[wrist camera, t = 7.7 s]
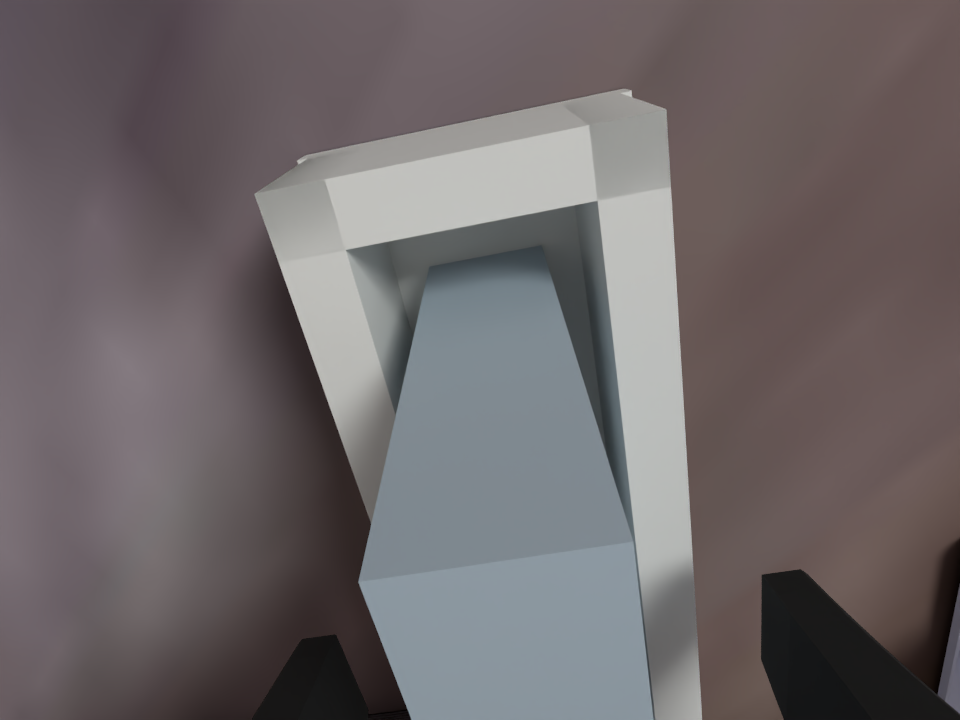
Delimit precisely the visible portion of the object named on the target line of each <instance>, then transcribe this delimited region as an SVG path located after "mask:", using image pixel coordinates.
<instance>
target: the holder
mask: <svg viewBox="0 0 960 720" xmlns="http://www.w3.org/2000/svg"><path fill="white" fill-rule="evenodd" d="M297 161H298V165H297V166H296V167H294V168H293V169H291V170H290V171H288V172H287V173H285V174H284V175H282V176H281V177H279V178H278V179H276V180H275V181H273V182H272V183H270V184H269V185H267V186H266V187H264V188H263V189H261V190H260V191H258V192H257V193H255V197H256V200H257V203H258V206H259V208H260V211H261V214H262V217H263V220H264V223H265V225H266V228H267V231H268V234H269V237H270V240H271V242H272V245H273V248H274V251H275V254H276V257H277V259H278V262H279V265H280V268H281V271H282V273H283V276H284V279H285V282H286V285H287V288H288V290H289V293H290V296H291V299H292V302H293V305H294V307H295V310H296V313H297V316H298V319H299V321H300V324H301V327H302V330H303V333H304V336H305V338H306V341H307V344H308V347H309V350H310V353H311V355H312V358H313V361H314V364H315V367H316V369H317V372H318V375H319V378H320V381H321V384H322V386H323V389H324V392H325V395H326V398H327V401H328V403H329V406H330V409H331V412H332V415H333V417H334V420H335V423H336V426H337V429H338V432H339V434H340V437H341V440H342V443H343V446H344V449H345V451H346V454H347V457H348V460H349V463H350V466H351V468H352V471H353V474H354V477H355V480H356V482H357V485H358V488H359V491H360V494H361V497H362V499H363V502H364V505H365V508H366V511H367V514H368V516H369V519H370V522H371V524H372V519H373V515H374V510H375V506H376V501H377V497H378V493H379V488H380V484H381V479H382V475H383V470H384V466H385V461H386V457H387V453H388V448H389V444H390V439H391V435H392V430H393V426H394V421H395V417H396V413H397V408H398V404H399V399H400V395H401V390H402V386H403V381H404V377H405V373H406V368H407V364H408V359H409V355H410V350H411V346H412V341H413V337H414V333H415V328H416V324H417V319H418V315H419V310H420V306H421V301H422V297H423V293H424V288H425V284H426V279H427V275H428V270H429V267H430V266H435V265H440V264H445V263H451V262H456V261H461V260H466V259H472V258H477V257H482V256H487V255H493V254H498V253H503V252H508V251H514V250H519V249H524V248H529V247H535V246H540V245H542V248H543V252H544V255H545V258H546V261H547V265H548V268H549V271H550V274H551V278H552V281H553V284H554V287H555V290H556V294H557V297H558V300H559V303H560V307H561V310H562V313H563V316H564V319H565V323H566V326H567V329H568V332H569V336H570V339H571V342H572V345H573V348H574V352H575V355H576V358H577V361H578V365H579V368H580V371H581V374H582V378H583V381H584V384H585V387H586V390H587V394H588V397H589V400H590V403H591V407H592V410H593V413H594V416H595V419H596V423H597V426H598V429H599V432H600V436H601V439H602V442H603V445H604V448H605V452H606V455H607V458H608V461H609V465H610V468H611V471H612V474H613V477H614V481H615V484H616V487H617V490H618V494H619V497H620V500H621V503H622V507H623V510H624V513H625V516H626V519H627V523H628V526H629V529H630V532H631V536H632V539H633V543H634V551H635V560H636V569H637V578H638V587H639V596H640V604H641V613H642V622H643V631H644V640H645V649H646V657H647V666H648V675H649V684H650V693H651V701H652V710H653V719H654V720H702V710H701V693H700V676H699V659H698V642H697V625H696V608H695V591H694V574H693V557H692V540H691V523H690V506H689V489H688V472H687V454H686V437H685V420H684V403H683V386H682V369H681V352H680V335H679V318H678V301H677V284H676V267H675V250H674V233H673V216H672V199H671V182H670V165H669V148H668V131H667V114H666V109H664V108H661V107H658V106H655V105H652V104H650V103H647V102H644V101H641V100H638V99H635V98H632V92H631V90H627V89H620V90H615V91H610V92H605V93H601V94H596V95H591V96H586V97H582V98H577V99H572V100H567V101H562V102H558V103H553V104H548V105H543V106H539V107H534V108H529V109H524V110H520V111H515V112H510V113H505V114H501V115H496V116H491V117H486V118H481V119H477V120H472V121H467V122H462V123H458V124H453V125H448V126H443V127H439V128H434V129H429V130H424V131H419V132H415V133H410V134H405V135H400V136H396V137H391V138H386V139H381V140H377V141H372V142H367V143H362V144H357V145H353V146H348V147H343V148H338V149H334V150H329V151H324V152H319V153H315V154H310V155H305V156H304V157H302V158H301V159H299V160H297Z"/></svg>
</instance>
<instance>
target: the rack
mask: <svg viewBox="0 0 960 720" xmlns="http://www.w3.org/2000/svg"><path fill="white" fill-rule="evenodd" d="M368 720H411V717H410V715H409V712H408V711H400V712H392V713H384V714H377V715H369V716H368Z"/></svg>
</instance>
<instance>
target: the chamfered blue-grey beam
mask: <svg viewBox="0 0 960 720" xmlns="http://www.w3.org/2000/svg"><path fill="white" fill-rule="evenodd" d="M358 583H359V585H360V588H361V590H362V593H363V596H364V598H365V601H366V603H367V606H368V609H369V611H370V614H371V616H372V619H373V621H374V624H375V627H376V629H377V632H378V634H379V637H380V640H381V642H382V645H383V647H384V650H385V653H386V655H387V658H388V660H389V663H390V665H391V668H392V671H393V673H394V676H395V678H396V681H397V684H398V686H399V689H400V691H401V694H402V696H403V699H404V702H405V704H406V707H407V709H408V712H409V715H410V717H411V720H654V719H653V710H652V701H651V693H650V684H649V675H648V666H647V657H646V649H645V640H644V631H643V622H642V613H641V604H640V596H639V587H638V578H637V569H636V560H635V551H634V543H633V539H632V536H631V532H630V529H629V526H628V523H627V519H626V516H625V513H624V510H623V507H622V503H621V500H620V497H619V494H618V490H617V487H616V484H615V481H614V477H613V474H612V471H611V468H610V465H609V461H608V458H607V455H606V452H605V448H604V445H603V442H602V439H601V436H600V432H599V429H598V426H597V423H596V419H595V416H594V413H593V410H592V407H591V403H590V400H589V397H588V394H587V390H586V387H585V384H584V381H583V378H582V374H581V371H580V368H579V365H578V361H577V358H576V355H575V352H574V348H573V345H572V342H571V339H570V336H569V332H568V329H567V326H566V323H565V319H564V316H563V313H562V310H561V307H560V303H559V300H558V297H557V294H556V290H555V287H554V284H553V281H552V278H551V274H550V271H549V268H548V265H547V261H546V258H545V255H544V252H543V248H542V245H540V246H535V247H529V248H524V249H519V250H514V251H508V252H503V253H498V254H493V255H487V256H482V257H477V258H472V259H466V260H461V261H456V262H451V263H445V264H440V265H435V266H430V267H429V270H428V275H427V279H426V284H425V288H424V293H423V297H422V301H421V306H420V310H419V315H418V319H417V324H416V328H415V333H414V337H413V341H412V346H411V350H410V355H409V359H408V364H407V368H406V373H405V377H404V381H403V386H402V390H401V395H400V399H399V404H398V408H397V413H396V417H395V421H394V426H393V430H392V435H391V439H390V444H389V448H388V453H387V457H386V461H385V466H384V470H383V475H382V479H381V484H380V488H379V493H378V497H377V501H376V506H375V510H374V515H373V519H372V524H371V528H370V532H369V537H368V541H367V546H366V550H365V555H364V559H363V564H362V568H361V572H360V577H359V581H358Z"/></svg>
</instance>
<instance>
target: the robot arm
mask: <svg viewBox="0 0 960 720" xmlns="http://www.w3.org/2000/svg"><path fill="white" fill-rule="evenodd" d="M761 660H762V662H763V665H764V668H765V671H766V673H767V676H768V679H769V681H770V684H771V687H772V690H773V692H774V695H775V697H776V700H777V703H778V705H779V708H780V710H781V713H782V715H783V718H784V720H960V585H959V590H958V595H957V600H956V605H955V610H954V615H953V620H952V625H951V630H950V635H949V640H948V645H947V650H946V655H945V660H944V665H943V670H942V675H941V680H940V685H939V689H938V694H936V693H935V692H934V691H932V690H931V689H930V688H929V687H928V686H927V685H926V684H925V683H923V682H922V681H921V680H920V679H919V678H918V677H917V676H915V675H914V674H913V673H912V672H911V671H910V670H909V669H907V668H906V667H905V666H904V665H903V664H902V663H901V662H899V661H898V660H897V659H896V658H895V657H894V656H893V655H892V654H891V653H889V652H888V651H887V650H886V649H885V648H884V647H883V646H882V645H881V644H880V643H878V642H877V641H876V640H875V639H874V638H873V637H872V636H871V635H870V634H869V633H868V632H867V631H866V630H864V629H863V628H862V627H861V626H860V625H859V624H858V623H857V622H856V621H855V620H854V619H853V618H852V617H851V616H850V615H849V614H848V613H846V612H845V611H844V610H843V609H842V608H841V607H840V606H839V605H838V604H837V603H836V602H835V601H834V600H833V599H832V598H831V597H830V596H829V595H828V594H827V593H826V592H825V591H824V590H823V589H822V588H821V587H820V586H819V585H818V584H817V583H816V582H815V581H814V580H813V579H812V578H811V577H810V576H809V575H808V574H806V573H805V572H804V571H802V570H801V569H800V570H793V571H785V572H778V573H771V574H764V575H762V626H761ZM252 720H368V708H367V706H366V703H365V701H364V699H363V696H362V694H361V692H360V689H359V687H358V685H357V682H356V680H355V678H354V675H353V673H352V671H351V668H350V666H349V664H348V661H347V659H346V657H345V654H344V652H343V650H342V647H341V645H340V643H339V640H338V638H337V636H336V635H329V636H322V637H314V638H307V639H302V640H301V642H300V643H299V644H298V646H297V647H296V649H295V650H294V652H293V654H292V655H291V657H290V658H289V660H288V662H287V663H286V665H285V667H284V668H283V670H282V671H281V673H280V675H279V676H278V678H277V680H276V681H275V683H274V684H273V686H272V688H271V689H270V691H269V693H268V694H267V696H266V697H265V699H264V701H263V702H262V704H261V705H260V707H259V709H258V710H257V712H256V713H255V715H254V716H253V718H252Z"/></svg>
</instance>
